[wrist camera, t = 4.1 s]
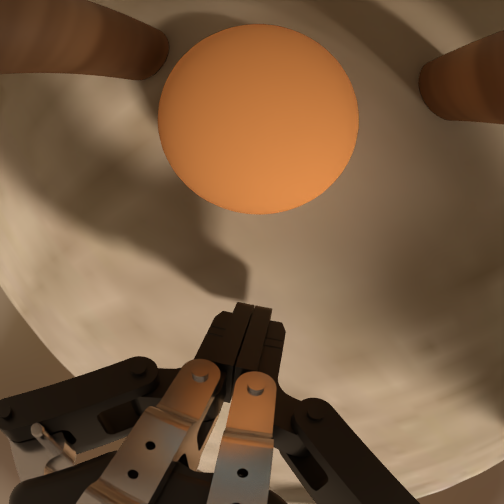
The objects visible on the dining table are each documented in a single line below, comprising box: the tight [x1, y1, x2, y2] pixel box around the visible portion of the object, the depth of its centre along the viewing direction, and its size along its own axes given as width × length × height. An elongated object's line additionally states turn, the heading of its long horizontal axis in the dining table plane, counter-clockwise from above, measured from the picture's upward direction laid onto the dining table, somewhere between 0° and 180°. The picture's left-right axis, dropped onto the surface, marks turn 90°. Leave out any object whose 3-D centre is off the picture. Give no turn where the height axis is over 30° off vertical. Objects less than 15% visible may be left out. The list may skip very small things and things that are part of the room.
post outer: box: [0, 0, 169, 80], centre depth 5 cm, size 3×3×9 cm
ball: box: [158, 24, 359, 214], centre depth 7 cm, size 6×6×6 cm
